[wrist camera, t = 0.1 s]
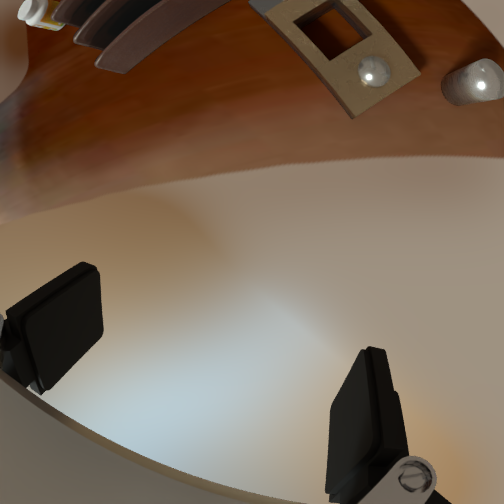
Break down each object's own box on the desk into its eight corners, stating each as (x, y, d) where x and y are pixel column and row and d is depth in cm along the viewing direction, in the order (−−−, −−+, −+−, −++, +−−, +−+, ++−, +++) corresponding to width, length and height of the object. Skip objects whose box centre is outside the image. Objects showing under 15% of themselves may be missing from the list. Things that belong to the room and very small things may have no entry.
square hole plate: (251, 7, 31) (242, -8, 26) (309, -29, 27) (307, -47, 22) (351, 119, 34) (356, 116, 29) (411, 80, 30) (423, 72, 26)
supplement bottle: (72, 0, 33) (35, -12, 24) (72, 21, 35) (33, 11, 26) (52, 14, 34) (16, 6, 25) (52, 35, 36) (14, 29, 27)
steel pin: (456, 68, 28) (491, 52, 19) (474, 97, 28) (513, 89, 19) (434, 82, 29) (467, 67, 20) (453, 111, 30) (490, 105, 21)
